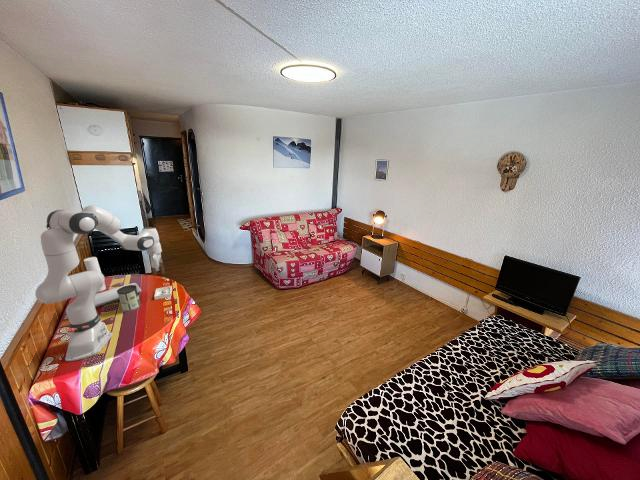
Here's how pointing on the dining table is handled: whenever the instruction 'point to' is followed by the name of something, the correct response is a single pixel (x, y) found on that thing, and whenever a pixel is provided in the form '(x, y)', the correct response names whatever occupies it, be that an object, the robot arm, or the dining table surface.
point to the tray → (109, 296)
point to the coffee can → (129, 297)
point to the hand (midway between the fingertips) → (158, 268)
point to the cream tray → (160, 296)
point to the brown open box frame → (161, 268)
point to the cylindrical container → (93, 267)
